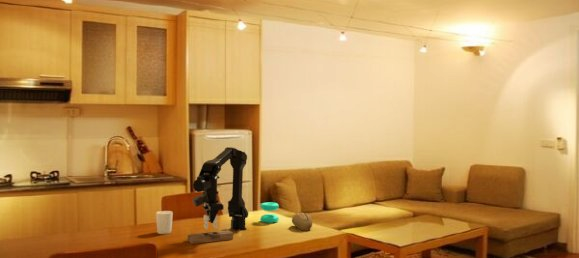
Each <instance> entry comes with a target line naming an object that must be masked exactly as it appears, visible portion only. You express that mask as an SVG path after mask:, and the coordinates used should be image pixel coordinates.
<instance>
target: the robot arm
mask: <svg viewBox="0 0 579 258" xmlns="http://www.w3.org/2000/svg"><path fill="white" fill-rule="evenodd" d="M247 160H248V155H247V153H246V152H245V151H242V150H240V149H237V148H236V147H230V146H229V147H225V148H224V150H223V151H221V152H220V153H219V154H218V155H217V156H216V157H214V158H213V159H210V160H209V159H208V160H206V161H205V162H203V164H202V167H201V169H200V171H199V174H198V176H197V177H196V180H194V181H193V184H192V187H193V188H192V189H193V190H194V191H195V192H197V193H200V192H202V194H200V195H197V196H196V197H193V198H191V200H192V203H193V206H195V207H199V206H201V208H203V209H204V210H205V212H206V215H209V216H210V220H208V223H210V224H213V222H214V220H215V217H216V215H218V213H219V211H224V204H223V203H221V202H219V199H218V194H219V191H218V179H220V176H219V173H220V171H221V170H222V166H223V165H224V164H226V163H227V162H228V161H229V164H230V166H231V167H232V191H231V193H232V194H231V195H232V196H231V198H230V200H228V201H227V212H228V216H229V218H231V220H230V229H232V231H244V230H247V228H246V219H247V218H248V217H249V211H248V209H247V208H246V202H245V200H244V199H243V178H244V177H243V174H244V173H243V172H244V167H246V164H247ZM202 205H203V206H202Z"/></svg>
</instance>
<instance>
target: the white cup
mask: <svg viewBox="0 0 579 258" xmlns="http://www.w3.org/2000/svg"><path fill="white" fill-rule="evenodd" d="M173 215H174V213H173V211H171V210H161V211H159V210H158V211H157V212H155V217H156V231H157V234H159V235H167V234H171V233H172V227H173Z"/></svg>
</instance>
